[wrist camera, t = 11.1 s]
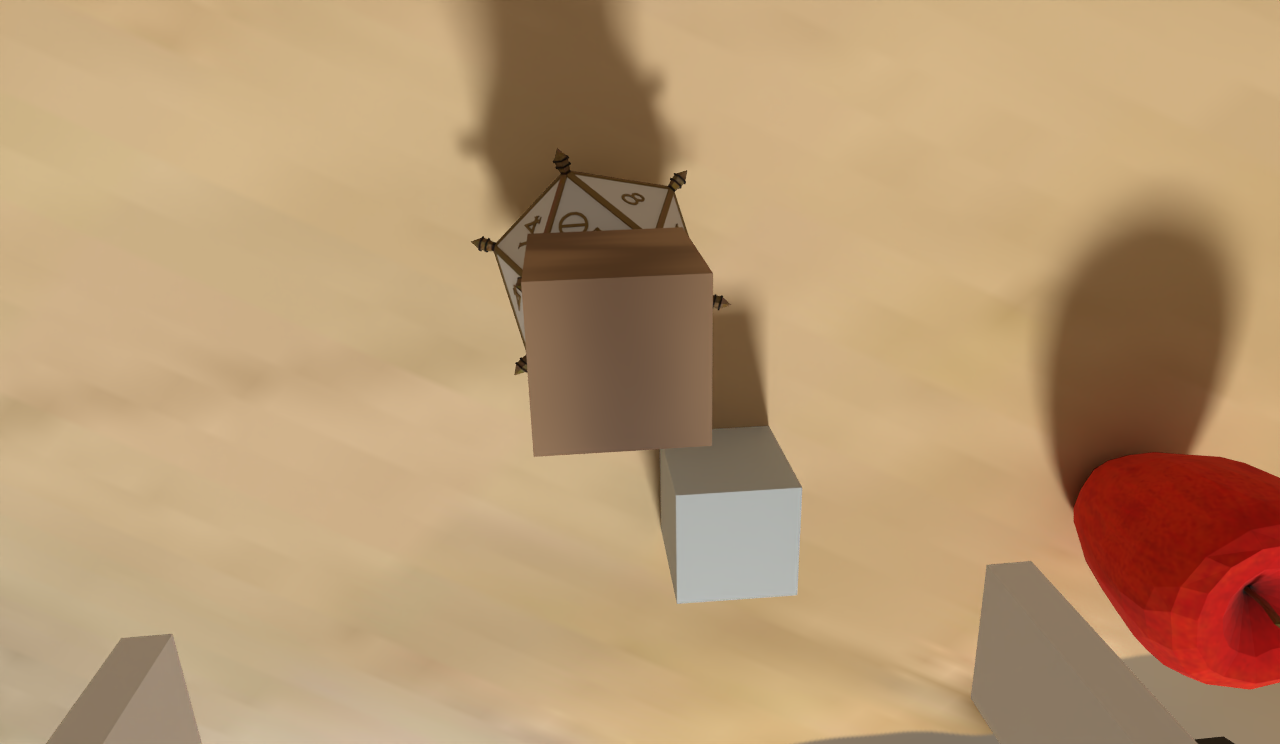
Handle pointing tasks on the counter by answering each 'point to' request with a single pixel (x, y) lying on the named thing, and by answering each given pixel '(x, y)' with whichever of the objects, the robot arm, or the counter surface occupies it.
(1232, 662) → the red rounded piece
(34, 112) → the counter surface
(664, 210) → the game die
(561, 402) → the walnut block
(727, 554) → the grey-blue block
